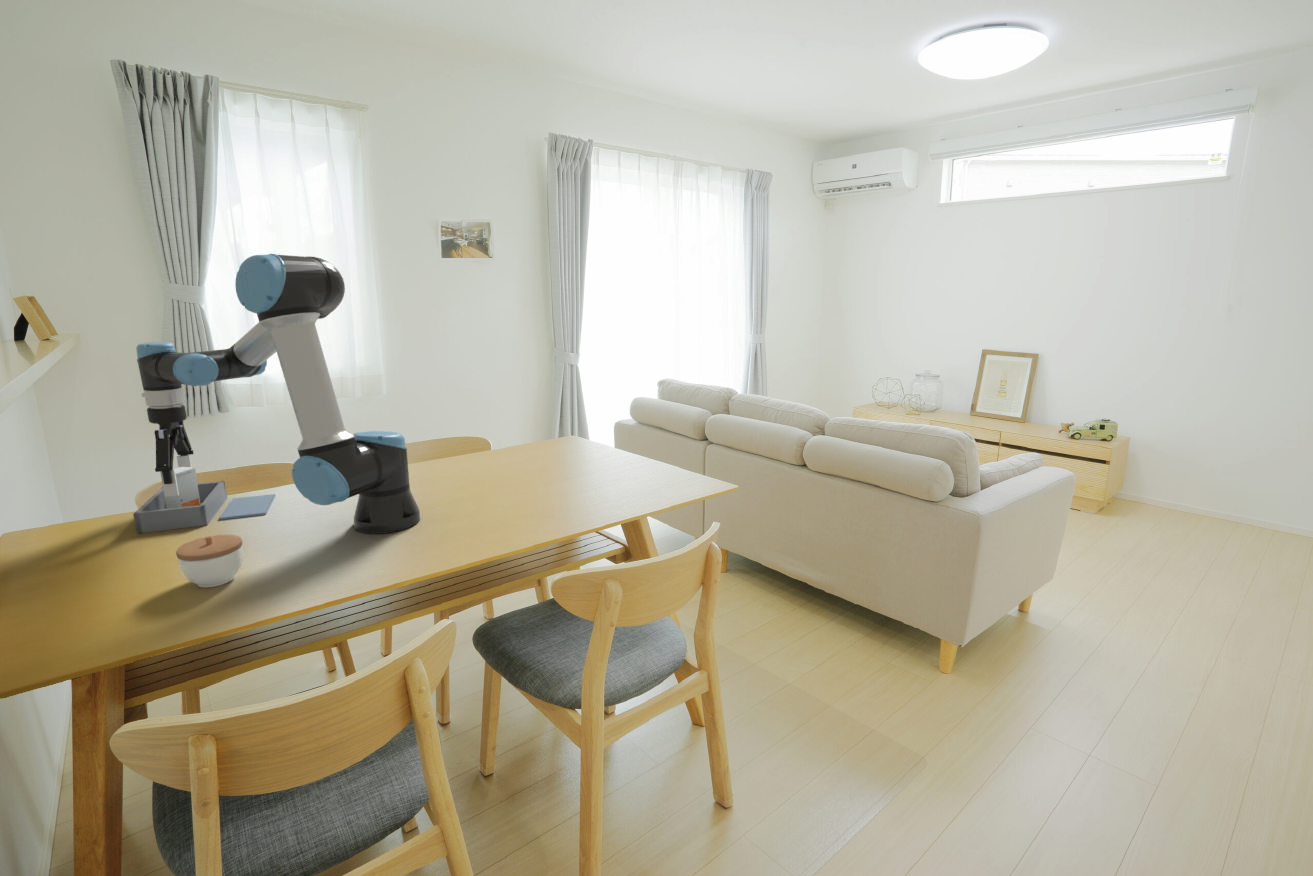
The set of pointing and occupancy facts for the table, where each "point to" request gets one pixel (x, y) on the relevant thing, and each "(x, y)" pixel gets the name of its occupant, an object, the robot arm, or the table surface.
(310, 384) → the robot arm
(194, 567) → the lidded jar
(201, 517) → the parts bin
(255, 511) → the board
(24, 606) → the table surface
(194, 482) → the skincare box
